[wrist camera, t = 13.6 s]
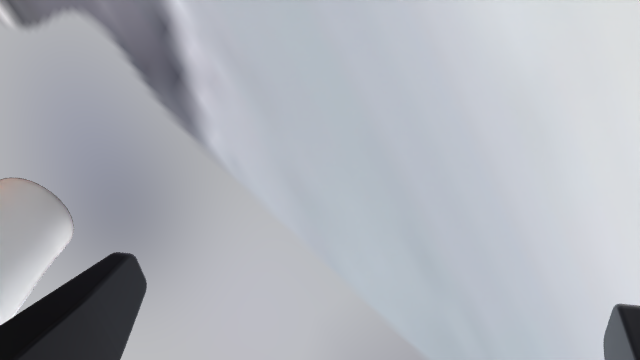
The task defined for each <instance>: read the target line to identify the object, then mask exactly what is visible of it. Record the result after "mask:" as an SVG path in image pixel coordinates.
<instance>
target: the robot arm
mask: <svg viewBox="0 0 640 360" xmlns="http://www.w3.org/2000/svg"><path fill="white" fill-rule="evenodd" d="M146 285H147V283H146V279H145V276H144V274H143V272H142V270H141V267H140V265H139V263H138V261H137V259H136V257H135V256H134V255H133V254H130V253H120V252H116V253H113V254H110V255H109V256H107V257H106V258H104V259H103V260H101V261H100V262H98V263H96V264H95V265H93V266H92V267H90V268H89V269H87V270H86V271H84V272H82V273H81V274H79V275H78V276H76V277H75V278H73V279H71V280H70V281H68V282H67V283H65V284H64V285H62V286H61V287H59V288H58V289H56V290H55V291H53V292H51V293H50V294H48V295H47V296H45V297H44V298H42V299H41V300H39V301H37V302H36V303H34V304H33V305H31V306H30V307H28V308H27V309H25V310H23V311H22V312H20V313H19V314H17V315H16V316H14V317H12V318H11V319H9V320H8V321H6V322H5V323H3V324H2V325H0V360H120V359H121V356H122V354H123V351H124V349H125V346H126V344H127V341H128V338H129V335H130V333H131V330H132V327H133V325H134V322H135V319H136V317H137V314H138V311H139V309H140V306H141V303H142V301H143V298H144V295H145V292H146ZM604 357H605V360H640V306H637V305H627V304H617V305H615V306H614V308H613V310H612V313H611V316H610V319H609V322H608V325H607V328H606V331H605V335H604Z"/></svg>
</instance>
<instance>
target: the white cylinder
mask: <svg viewBox="0 0 640 360" xmlns="http://www.w3.org/2000/svg"><path fill="white" fill-rule="evenodd" d="M73 230H74V225H73V220H72V217H71V215H70V213H69V211H68V209H67V208H66V207H65V205H64V204H63V203H62V202H61V201H60V200H59V199H58V198H57V197H56V196H55V195H54V194H53V193H52V192H50V191H49V190H47V189H46V188H44V187H42V186H40V185H39V184H37V183H34V182H32V181H29V180H26V179H21V178H5V179H1V180H0V325H2V324H3V323H5V322H6V321H8V320H9V319H11V318H12V317H14V316H15V314H16V313H17V311H18V310H19V308H20V307H21V306H22V304H23V303H24V301H25V300H26V299H27V297H28V296H29V294H30V293H31V292H32V290H33V289H34V287H35V286H36V285H37V283H38V282H39V280H40V279H41V278H42V276H43V275H44V273H45V272H46V271H47V269H48V268H49V266H50V265H51V264H52V262H53V261H54V260H55V259H56V258H57V256H58V255H59V254H60V253H61V252H62V250H63V249H64V248H65V247H66V246H67V244H68V243H69V242H70V240H71V238H72V235H73Z"/></svg>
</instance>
